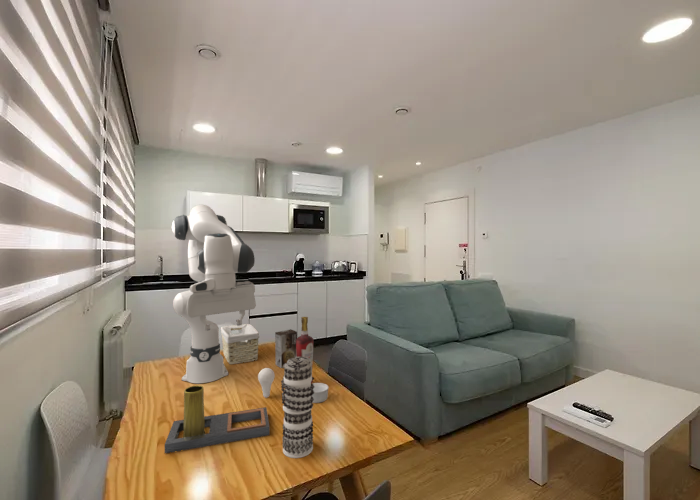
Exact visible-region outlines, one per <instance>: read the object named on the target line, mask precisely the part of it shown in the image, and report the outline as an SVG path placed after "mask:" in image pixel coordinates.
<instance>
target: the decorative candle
mask: <svg viewBox="0 0 700 500" xmlns="http://www.w3.org/2000/svg"><path fill="white" fill-rule="evenodd" d="M313 365H314V364H313V362H312V363H311V362H310V361H309V360H308V359H307V358H305V357H293V358H290V359H289V360H288V361H287V363H285V364H284V365H283V366H284V368H283V373H284V375H283V377H282V379H281V380H280V382H281V387H280V388H281V389H280V390H281V392H282V393H281V400H282V401H281V403H282V411H283V412H284V413H283V415H284V416H283V424H282V435H283V436H282V453H283V454H284V456H285V457H288V458H290V459H299V458H304V457H307V456H309V454H311V453H312V452H313V449H314V442H313V441H314V434H313V432H314V428H313V427H314V421H313V415H312V410H313V408H314V403H312V402H313V400H314V399H313V397H312V395H313V394H314V391H313V388H314V385H313V384H312V383H313V382H312V383H311V381H312V380H313V381H314V380H315V377H314V376H313V373H312V374H311V366H312V367H313Z"/></svg>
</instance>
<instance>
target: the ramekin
mask: <svg viewBox="0 0 700 500" xmlns="http://www.w3.org/2000/svg"><path fill="white" fill-rule="evenodd" d="M312 384H313V385H314V388H313V391H314V394H313V395H312V397H313V399H314V400H313V402H312V404H319V403H323V402H325V401H327V400H328V396H329V387H330V386H329V385H328V384H326V383H323V382H312Z"/></svg>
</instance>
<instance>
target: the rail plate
mask: <svg viewBox="0 0 700 500" xmlns="http://www.w3.org/2000/svg"><path fill="white" fill-rule="evenodd" d="M267 408H268V407H266V406H265V407H259V408H253V409H246V410H240V411H239V410H238V411H232V412H226V413H218V414H212V415H207V416H205V415H204V420H205V428H209V431H208V433H205V434H202V435H196V436H190V437H184V438H183V437H179V435H180V433H181V432H183V431H184V419H179V420H175V421H173V422H172V425H171V428H170V430H169V433H168V436H167V438H166V440H165V443H164V454H165V453H166V454H171V453H175V451H177V452H182V451H181V450H183V451H187V450H188V451H189V450H193V449H198V448H204V447H210V446H215V445H221V444H226V443H227V444H228V443H233V442H237V441H238V442H239V441H244V440H249V439H254V438H255V439H256V438H262V437H267V436H270V423H269V416H268V410H267ZM258 419H260V423H259V424H258V423H257V424H251V425H247V426H246V425H245V426H241V427H232V426H233V425H232V424H236V423H240V422H249V421H252V420H258ZM179 432H180V433H179ZM170 452H171V453H170Z"/></svg>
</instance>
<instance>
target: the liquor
mask: <svg viewBox="0 0 700 500" xmlns="http://www.w3.org/2000/svg"><path fill="white" fill-rule="evenodd" d="M300 318H301V319H300V320H301V333H300V336H297V339H296V355H297V357H305V358H307V359H308V360H309V361H310V362H311V363H312V364H313V361H314V359H313V356H314V338H313V337H312V336H311V335H309V330H308V321H309V317H308V316H301V317H300ZM311 374H312V375H313V365H312V366H311ZM311 383H314V380H312V381H311Z"/></svg>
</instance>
